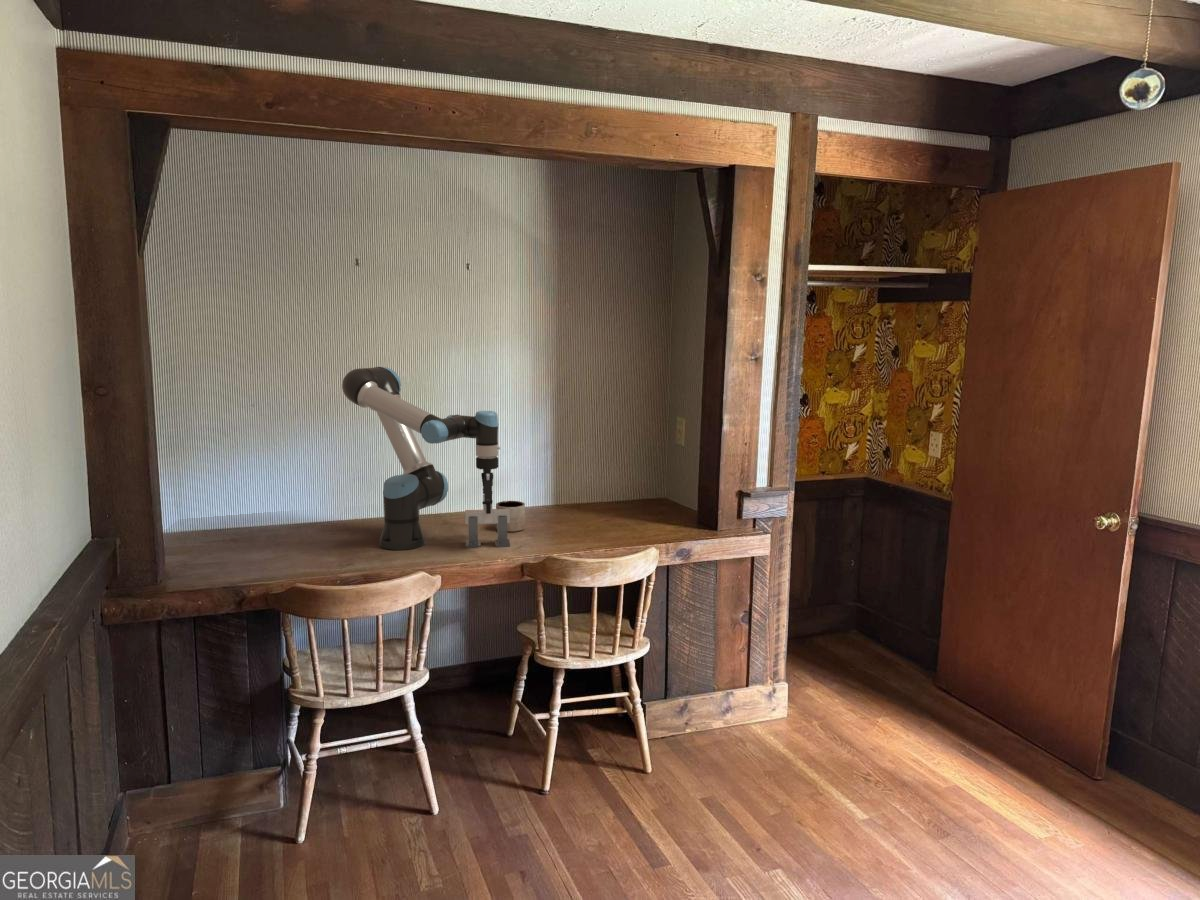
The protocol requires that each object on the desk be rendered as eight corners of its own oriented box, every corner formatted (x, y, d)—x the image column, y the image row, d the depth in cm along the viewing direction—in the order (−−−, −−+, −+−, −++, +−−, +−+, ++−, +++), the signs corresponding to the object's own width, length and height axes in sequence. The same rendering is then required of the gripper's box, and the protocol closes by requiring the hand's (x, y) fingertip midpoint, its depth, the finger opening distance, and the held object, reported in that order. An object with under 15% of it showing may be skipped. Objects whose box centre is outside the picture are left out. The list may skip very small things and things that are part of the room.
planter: (527, 525, 300) (527, 501, 299) (521, 533, 289) (521, 507, 288) (499, 524, 301) (499, 500, 300) (492, 532, 290) (492, 506, 289)
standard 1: (465, 548, 270) (465, 518, 268) (465, 542, 276) (465, 513, 275) (480, 547, 271) (480, 518, 269) (480, 542, 277) (480, 513, 275)
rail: (465, 524, 270) (465, 512, 269) (465, 521, 274) (465, 510, 273) (509, 523, 272) (509, 511, 272) (509, 520, 276) (509, 508, 276)
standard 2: (495, 547, 271) (495, 517, 270) (494, 541, 278) (494, 512, 276) (510, 546, 272) (510, 517, 271) (509, 541, 279) (508, 512, 277)
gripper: (500, 463, 258) (500, 526, 261) (496, 450, 282) (497, 508, 285) (476, 463, 256) (477, 527, 260) (475, 450, 281) (476, 509, 284)
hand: (487, 517), depth 273 cm, fingers open, 13 cm apart
